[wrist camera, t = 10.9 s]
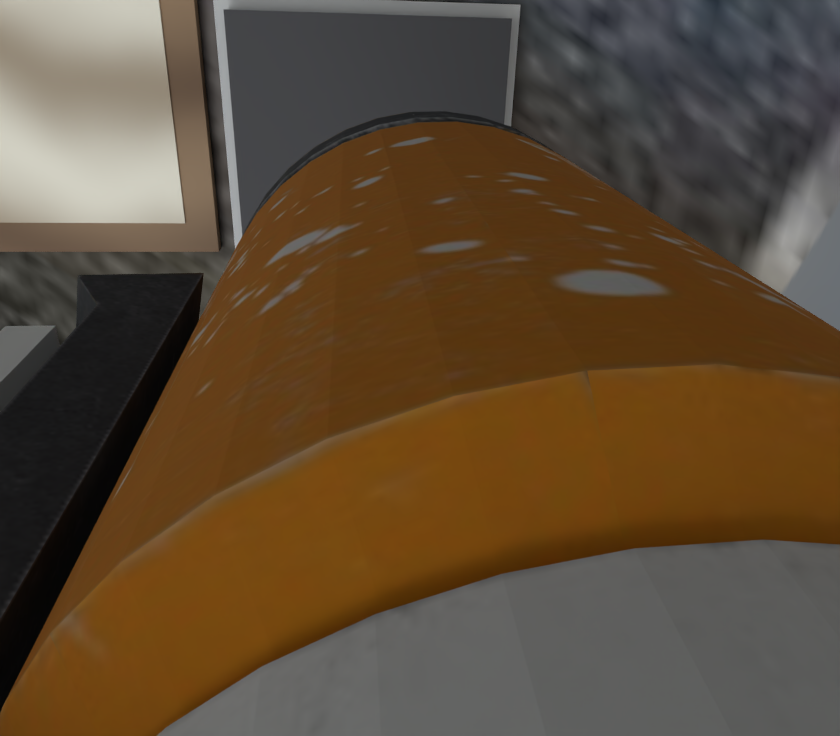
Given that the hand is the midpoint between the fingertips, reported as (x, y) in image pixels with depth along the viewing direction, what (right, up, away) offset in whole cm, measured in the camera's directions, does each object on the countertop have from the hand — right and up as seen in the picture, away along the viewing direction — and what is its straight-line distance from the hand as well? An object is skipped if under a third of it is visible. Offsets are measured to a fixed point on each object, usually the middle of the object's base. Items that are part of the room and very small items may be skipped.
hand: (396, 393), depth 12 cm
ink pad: (-2, +9, +18) cm, 20 cm away
